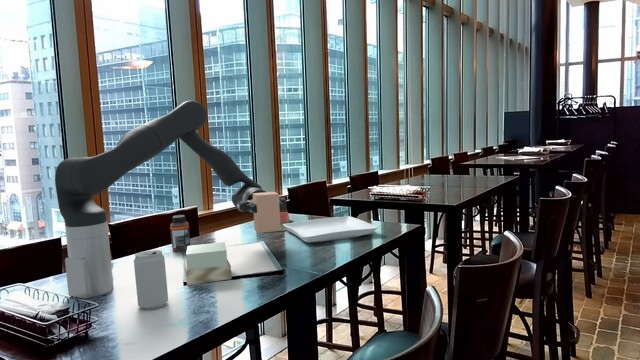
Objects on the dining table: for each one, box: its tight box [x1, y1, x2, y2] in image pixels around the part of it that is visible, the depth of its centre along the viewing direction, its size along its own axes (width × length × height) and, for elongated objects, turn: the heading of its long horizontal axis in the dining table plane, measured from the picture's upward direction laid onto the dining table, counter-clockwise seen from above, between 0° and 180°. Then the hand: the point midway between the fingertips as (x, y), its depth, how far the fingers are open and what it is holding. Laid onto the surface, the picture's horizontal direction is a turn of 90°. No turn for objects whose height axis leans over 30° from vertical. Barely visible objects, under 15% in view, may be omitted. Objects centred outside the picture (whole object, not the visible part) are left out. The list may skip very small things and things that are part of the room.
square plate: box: [283, 215, 379, 243], centre depth 172 cm, size 27×27×4 cm
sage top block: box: [185, 241, 228, 270], centre depth 127 cm, size 10×10×4 cm
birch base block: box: [183, 259, 233, 286], centre depth 127 cm, size 11×11×4 cm
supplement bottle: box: [169, 214, 191, 252], centre depth 159 cm, size 6×6×11 cm
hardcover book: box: [280, 211, 291, 231], centre depth 192 cm, size 12×21×4 cm, turn 5°
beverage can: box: [133, 249, 169, 310], centre depth 106 cm, size 6×6×12 cm
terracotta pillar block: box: [253, 191, 282, 234], centre depth 131 cm, size 6×6×10 cm
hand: (268, 207), depth 128 cm, fingers closed on terracotta pillar block, 6 cm apart
